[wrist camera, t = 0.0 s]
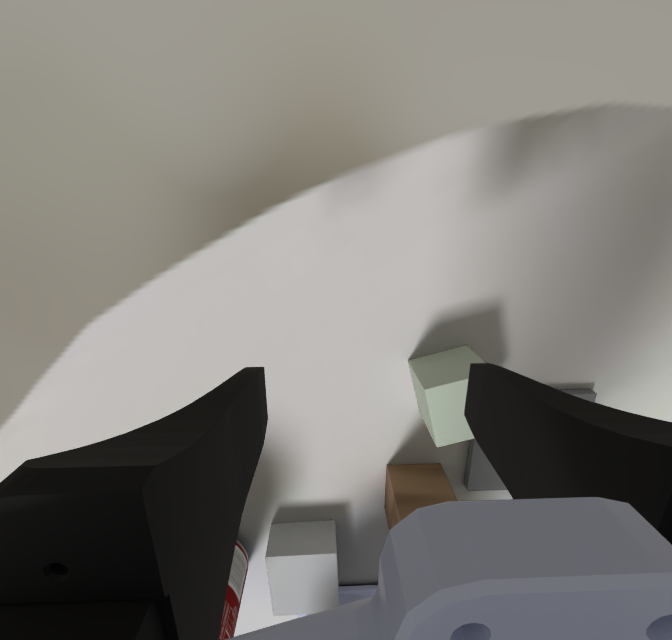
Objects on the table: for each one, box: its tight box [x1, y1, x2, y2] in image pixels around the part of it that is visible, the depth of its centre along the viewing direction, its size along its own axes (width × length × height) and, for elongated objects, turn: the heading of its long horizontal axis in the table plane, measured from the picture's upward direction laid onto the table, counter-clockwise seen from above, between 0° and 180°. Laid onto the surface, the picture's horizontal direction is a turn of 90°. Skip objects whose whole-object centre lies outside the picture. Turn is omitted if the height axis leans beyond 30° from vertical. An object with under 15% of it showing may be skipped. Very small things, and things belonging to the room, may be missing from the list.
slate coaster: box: [464, 389, 597, 491], centre depth 25 cm, size 8×8×1 cm
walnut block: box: [385, 463, 457, 531], centre depth 23 cm, size 4×4×6 cm
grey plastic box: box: [265, 520, 339, 616], centre depth 26 cm, size 6×5×3 cm
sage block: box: [408, 345, 486, 447], centre depth 21 cm, size 4×4×4 cm
